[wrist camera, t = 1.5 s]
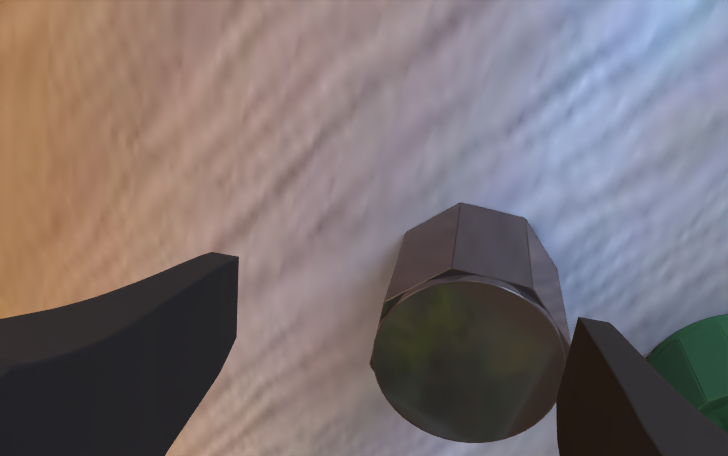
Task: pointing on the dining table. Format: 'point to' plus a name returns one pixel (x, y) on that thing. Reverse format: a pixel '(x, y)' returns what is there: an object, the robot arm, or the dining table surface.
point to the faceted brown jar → (472, 327)
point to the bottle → (698, 366)
